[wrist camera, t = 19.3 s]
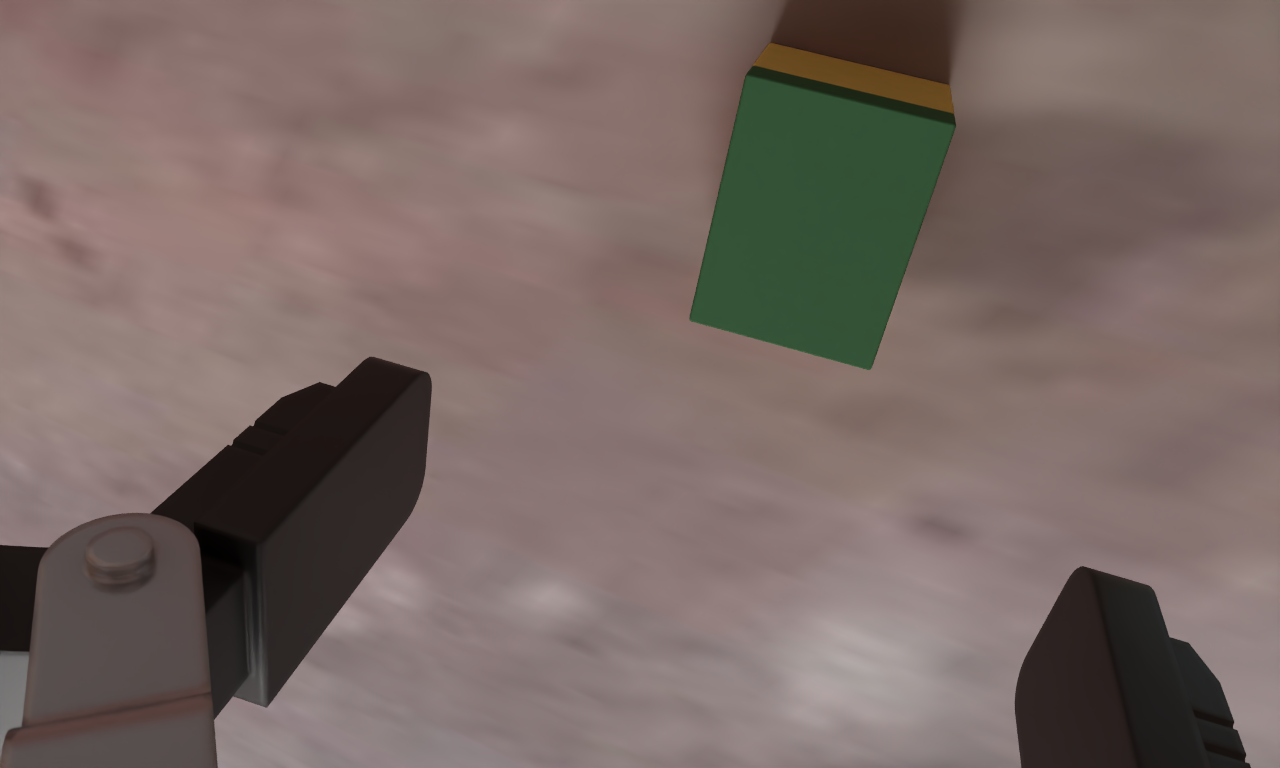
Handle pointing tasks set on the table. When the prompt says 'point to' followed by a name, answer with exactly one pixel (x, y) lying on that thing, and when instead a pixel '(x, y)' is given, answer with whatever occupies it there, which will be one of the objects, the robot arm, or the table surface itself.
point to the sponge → (821, 202)
